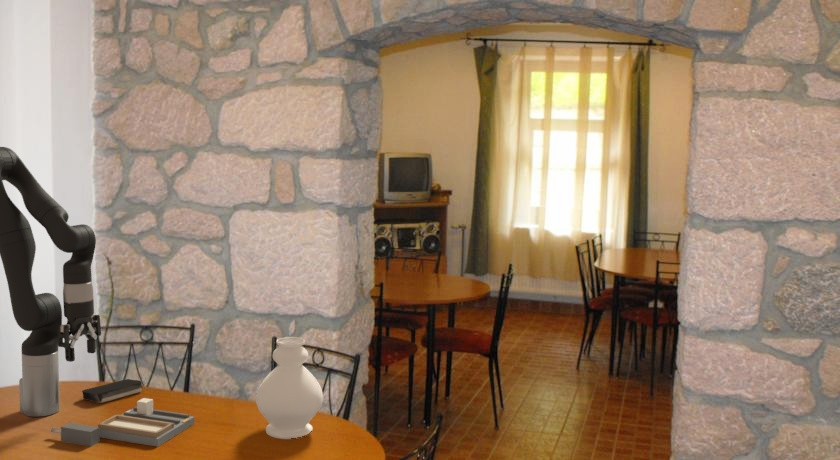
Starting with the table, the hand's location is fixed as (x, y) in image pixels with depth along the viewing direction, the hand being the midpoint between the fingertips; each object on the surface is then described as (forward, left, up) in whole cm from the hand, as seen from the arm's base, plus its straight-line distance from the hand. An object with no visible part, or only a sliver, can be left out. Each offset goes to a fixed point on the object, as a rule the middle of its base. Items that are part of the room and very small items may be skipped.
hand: (81, 356), depth 217 cm
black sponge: (-3, +18, -18) cm, 25 cm away
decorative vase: (+57, +12, -17) cm, 60 cm away
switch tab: (+18, +3, -15) cm, 24 cm away
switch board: (+21, -2, -17) cm, 27 cm away
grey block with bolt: (+9, -14, -17) cm, 24 cm away
